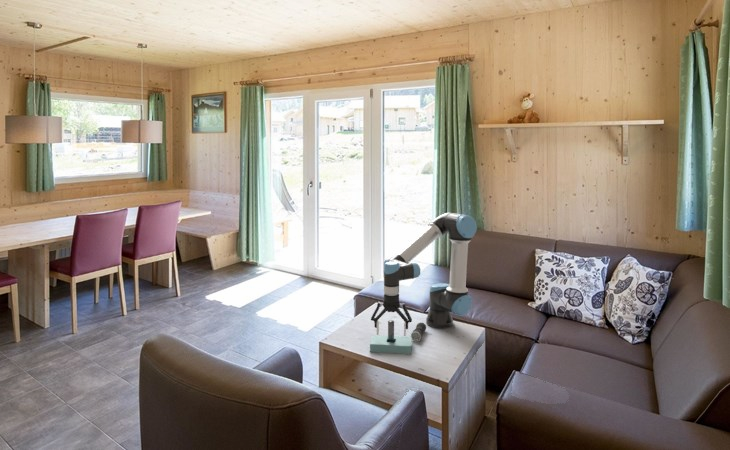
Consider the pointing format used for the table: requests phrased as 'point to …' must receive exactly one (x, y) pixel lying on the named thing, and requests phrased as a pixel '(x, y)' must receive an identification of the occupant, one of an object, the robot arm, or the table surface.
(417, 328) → the flashlight
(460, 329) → the table surface
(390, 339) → the peg
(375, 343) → the hole block
